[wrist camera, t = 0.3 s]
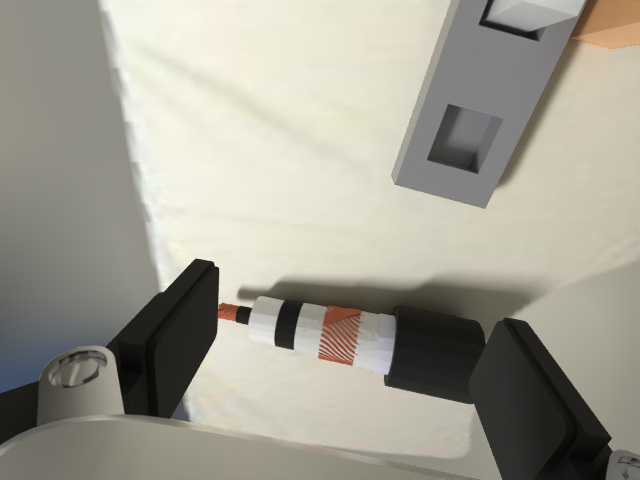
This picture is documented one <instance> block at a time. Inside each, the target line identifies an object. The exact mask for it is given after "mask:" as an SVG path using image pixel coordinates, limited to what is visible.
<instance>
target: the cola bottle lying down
mask: <svg viewBox="0 0 640 480" xmlns="http://www.w3.org/2000/svg"><path fill="white" fill-rule="evenodd" d="M218 318H220V319H226V320H232V321H236V322H237V323H242V324H246V325H248V337H249V339H250V340H254V341H259V342H263V343H268V344H273V345H275V346H278V347H282V348H287V349H292V350H295V351H296V352H301V353H306V354H310V355H315V356H318V357H319V359H324V360H328V361H333V362H338V363H342V364H347V365H351V366H355V367H360V368H364V369H369V370H371V372H376V373H380V374H384V382H385V386H388V387H393V388H398V389H402V390H407V391H411V392H416V393H420V394H425V395H429V396H434V397H438V398H443V399H447V400H452V401H457V402H461V403H466V404H473V403H474V402H473V399H472V397H471V394H470V391H469V386H468V384H469V379H470V377H471V375H472V372H473V370H474V368H475V366H476V364H477V362H478V360H479V358H480V356H481V354H482V352H483V350H484V348H485V346H486V343H485V337H484V332H483V330H482V328H481V326H480V324H479V323H478V322H476V321H474V320H469V319H463V318H458V317H453V316H447V315H442V314H436V313H431V312H426V311H420V310H415V309H409V308H404V307H399V306H396V307H395V308H394V311H393V313H392V315H387V314H382V313H379V314H374V313H369V312H364V311H361V309H352V308H341V307H336V306H331V305H328V307H325V306H320V305H314V304H309V303H299V302H294V301H288V300H280V299H275V298H269V297H264V296H260V297H258V298H257V299H256V301H255V303H254V305H253V308H250V307H244V306H236V305H232V304H225V303H222V304H220V305H219V309H218Z"/></svg>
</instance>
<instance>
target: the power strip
mask: <svg viewBox="0 0 640 480" xmlns="http://www.w3.org/2000/svg"><path fill="white" fill-rule="evenodd" d="M587 1H588V0H451V3H450V6H449V9H448V12H447V15H446V17H445V20H444V23H443V26H442V29H441V32H440V35H439V38H438V41H437V44H436V47H435V49H434V52H433V55H432V58H431V61H430V64H429V67H428V70H427V73H426V76H425V79H424V81H423V84H422V87H421V90H420V93H419V96H418V99H417V102H416V105H415V108H414V111H413V114H412V116H411V119H410V122H409V125H408V128H407V131H406V134H405V137H404V140H403V143H402V146H401V148H400V151H399V154H398V157H397V160H396V163H395V166H394V169H393V172H392V175H391V176H392V179H393V181H394V184H395V185H398V186H402V187H406V188H409V189H413V190H417V191H421V192H424V193H428V194H432V195H436V196H439V197H443V198H447V199H450V200H454V201H458V202H462V203H465V204H469V205H473V206H477V207H480V208H484V209H485V208H486V206H487V204H488V202H489V200H490V198H491V196H492V194H493V192H494V190H495V188H496V186H497V184H498V182H499V180H500V178H501V176H502V174H503V172H504V170H505V168H506V166H507V163H508V161H509V159H510V157H511V155H512V153H513V151H514V149H515V147H516V145H517V143H518V141H519V139H520V137H521V135H522V133H523V131H524V129H525V127H526V125H527V123H528V121H529V119H530V117H531V115H532V113H533V111H534V109H535V107H536V105H537V103H538V101H539V99H540V96H541V94H542V92H543V90H544V88H545V86H546V84H547V82H548V80H549V78H550V76H551V74H552V72H553V70H554V68H555V66H556V64H557V62H558V60H559V58H560V56H561V54H562V52H563V50H564V48H565V46H566V44H567V42H568V40H569V38H570V36H571V34H572V32H573V29H574V27H575V25H576V23H577V21H578V19H579V17H580V15H581V13H582V11H583V9H584V7H585V5H586V3H587Z"/></svg>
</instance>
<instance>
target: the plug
mask: <svg viewBox="0 0 640 480" xmlns="http://www.w3.org/2000/svg"><path fill="white" fill-rule="evenodd" d="M571 38H572V39H575V40H579V41H583V42H586V43H590V44H594V45H597V46H601V47H604V48H608V49H614V48H621V47H627V46H634V45H640V0H589V1H588V3H587V5H586V7H585V9H584V11H583V13H582V15H581V17H580V20H579V22H578V24H577V26H576V28H575V30H574V32H573V34H572V36H571Z"/></svg>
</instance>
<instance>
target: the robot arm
mask: <svg viewBox="0 0 640 480" xmlns="http://www.w3.org/2000/svg"><path fill="white" fill-rule="evenodd" d="M218 294H219V268H218V267H215V265H214V262H212V261H207V260H202V259H195V260H194V261H193V262H192V263H191V264H190V265H189V266H188V267H187V268H186V269H185V270H184V271H183V272H182V273H181V274H180V275H179V276H178V278H177V279H176V280H175V281H174V282H173V283H172V284H171V285H170V286H169V287H168V288H167V289H166V290H165V291H164V292H160V293H158V294H157V295H156V296H155V297H154V298H153V299H152V300H151V301H150V302H149V303H148V304H147V305H146V306H145V307H144V308H143V309H142V310H141V311H140V312H139V313H138V314H137V315H136V316H135V317H134V318H133V319H132V320H131V321H130V322H129V323H128V324H127V326H125V328H123V329H122V331H121V332H120V333H119V334H118V335H117V336H116V337H115V338H114V339H113V340H112V341H111V342H110V343H109V344H108V345H107V346H106V347H105V348H104V347H101V346H83V347H78V348H75V349H72V350H69V351H66V352H64V353H62V354H61V355H59V356H57V357H55V358H54V359H53V360H52V361H50V362H49V363H48V364H47V365H46V367H45V368H44V369H43V370H42V372H41V376H40V379H39V381H37V382H34V383H30V384H27V385H25V386H21V387H18V388H15V389H12V390H9V391H6V392H3V393H0V480H478V479H474V478H469V477H464V476H459V475H455V474H450V473H445V472H440V471H435V470H430V469H425V468H420V467H416V466H410V465H406V464H401V463H396V462H391V461H386V460H381V459H377V458H372V457H367V456H362V455H357V454H352V453H347V452H342V451H336V450H332V449H327V448H322V447H317V446H312V445H307V444H302V443H297V442H291V441H286V440H281V439H276V438H271V437H266V436H261V435H256V434H251V433H246V432H241V431H235V430H230V429H225V428H219V427H214V426H208V425H202V424H197V423H191V422H186V421H180V420H174V419H170V418H171V416H172V414H173V413H174V411H175V409H176V407H177V405H178V404H179V402H180V400H181V399H182V397H183V395H184V393H185V391H186V390H187V388H188V386H189V384H190V383H191V381H192V379H193V377H194V376H195V374H196V372H197V370H198V368H199V367H200V365H201V363H202V361H203V360H204V358H205V356H206V354H207V352H208V351H209V349H210V347H211V345H212V344H213V342H214V340H215V337H216V334H217V326H218ZM468 386H469V391H470V394H471V397H472V399H473V402H474V405H475V407H476V410H477V413H478V415H479V418H480V421H481V424H482V426H483V429H484V432H485V434H486V437H487V440H488V442H489V445H490V448H491V450H492V453H493V456H494V458H495V460H496V464H497V466H498V469H499V472H500V474H501V477H502V480H640V455H638V454H635V453H632V452H629V451H626V450H616V451H612V450H611V448H610V447H609V446H608V443H609V441H610V440H611V439H612V438H611V436H610V435H609V434H608V432H607V431H606V430H605V428H604V427H603V425H602V424H601V423H600V421H599V420H598V419H597V417H596V416H595V415H594V413H593V412H592V411H591V409H590V408H589V406H588V405H587V404H586V402H585V401H584V399H583V398H582V397H581V395H580V394H579V393H578V391H577V390H576V389H575V387H574V386H573V385H572V383H571V382H570V380H569V379H568V378H567V376H566V375H565V373H564V372H563V371H562V369H561V368H560V367H559V365H558V364H557V363H556V361H555V360H554V359H553V357H552V356H551V354H550V353H549V352H548V350H547V349H546V347H545V346H544V345H543V343H542V342H541V341H540V339H539V338H538V337H537V335H536V334H535V333H534V331H533V330H532V328H531V327H530V326H529V324H528V323H527V322H525V321H522V320H517V319H512V318H504V319H503V320H502V321H498V322H497V324H496V325H495V327H494V329H493V332H492V334H491V336H490V338H489V340H488V342H487V344H486V346H485V348H484V350H483V352H482V354H481V356H480V358H479V360H478V362H477V364H476V366H475V368H474V370H473V372H472V375H471V377H470V379H469V384H468Z"/></svg>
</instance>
